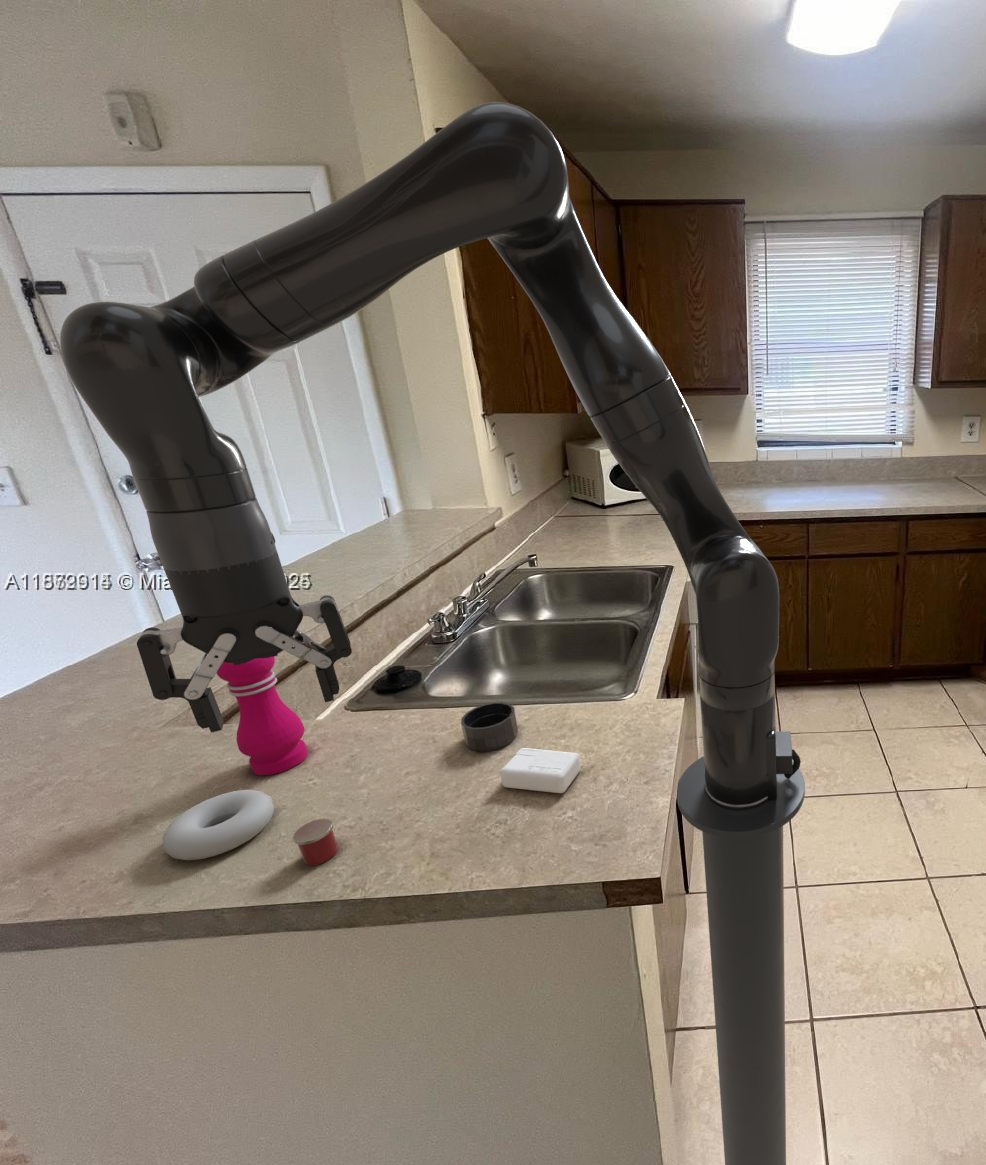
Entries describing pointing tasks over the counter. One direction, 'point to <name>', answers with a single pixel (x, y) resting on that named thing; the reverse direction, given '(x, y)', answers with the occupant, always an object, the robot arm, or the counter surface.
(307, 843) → the pod
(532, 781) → the soap
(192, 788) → the counter surface
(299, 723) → the pepper mill
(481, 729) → the bowl
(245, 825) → the donut
